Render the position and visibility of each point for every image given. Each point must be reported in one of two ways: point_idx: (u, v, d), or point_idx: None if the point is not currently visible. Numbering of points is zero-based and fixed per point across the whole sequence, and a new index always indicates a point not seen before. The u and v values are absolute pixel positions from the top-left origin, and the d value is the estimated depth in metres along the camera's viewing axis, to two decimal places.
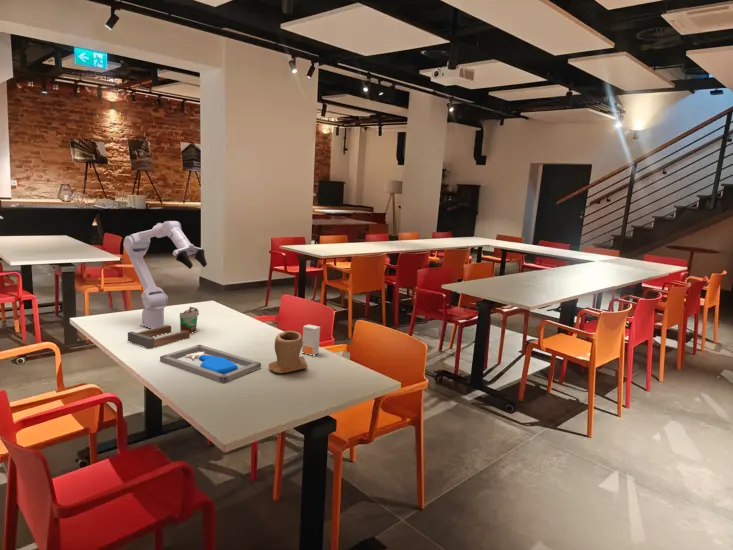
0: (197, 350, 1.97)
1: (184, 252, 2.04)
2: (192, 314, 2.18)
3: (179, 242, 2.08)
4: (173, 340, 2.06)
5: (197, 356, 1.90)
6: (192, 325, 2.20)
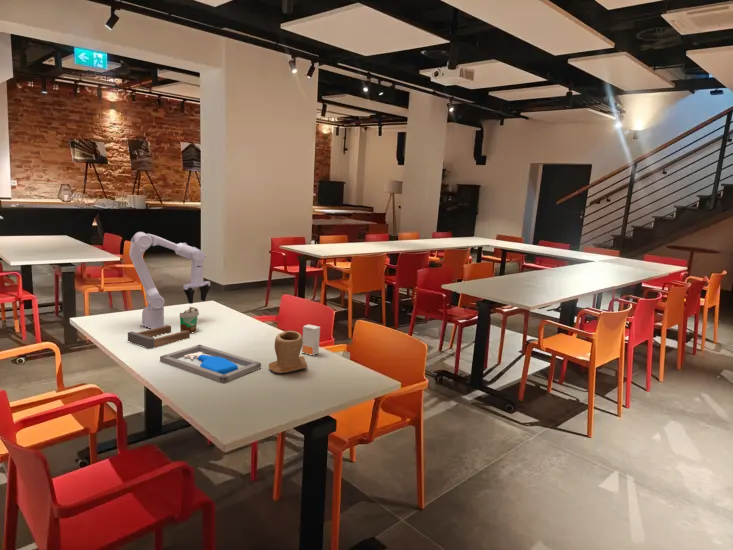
0: (197, 350, 1.97)
1: (192, 291, 2.29)
2: (192, 314, 2.18)
3: (194, 276, 2.30)
4: (173, 340, 2.06)
5: (196, 356, 1.89)
6: (192, 325, 2.20)
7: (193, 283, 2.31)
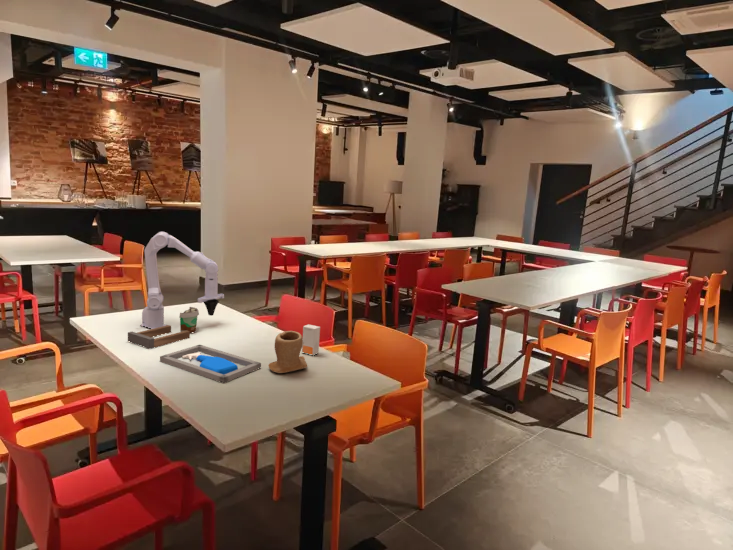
0: (197, 350, 1.97)
1: (212, 303, 2.29)
2: (192, 314, 2.18)
3: (209, 289, 2.27)
4: (173, 340, 2.06)
5: (194, 357, 1.89)
6: (192, 325, 2.20)
7: (207, 296, 2.28)
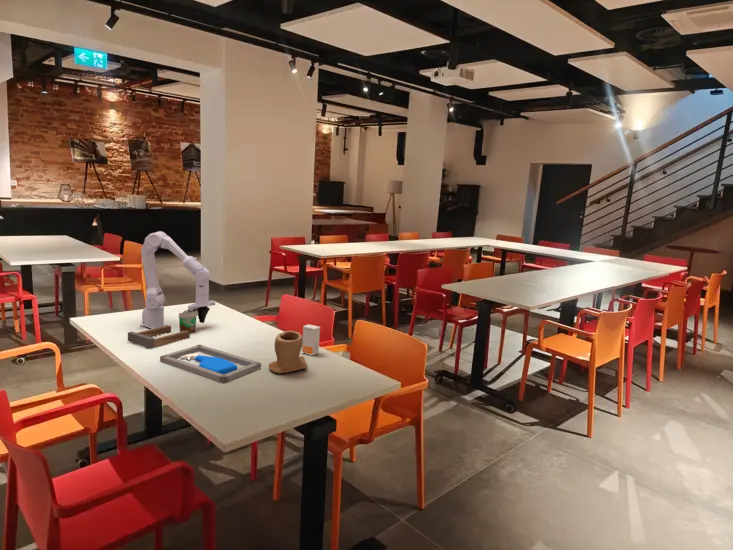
0: (197, 350, 1.97)
1: (204, 311, 2.25)
2: (191, 314, 2.18)
3: (199, 297, 2.23)
4: (173, 340, 2.06)
5: (192, 357, 1.88)
6: (191, 325, 2.20)
7: (198, 303, 2.24)
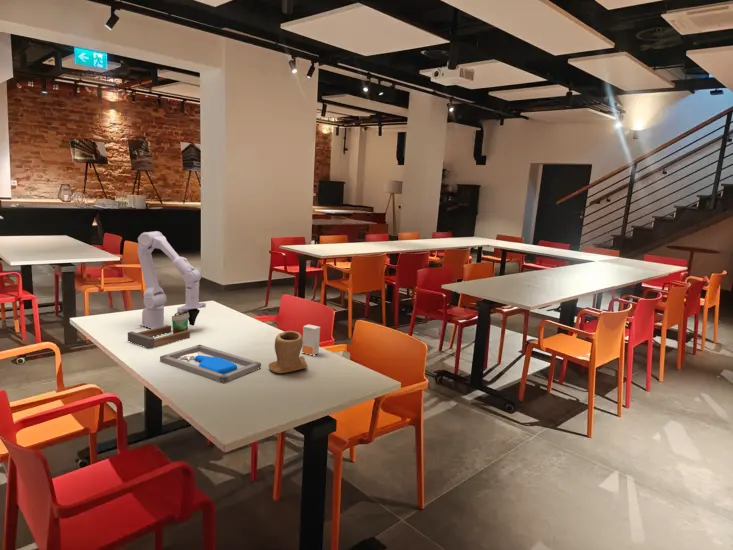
0: (197, 350, 1.97)
1: (194, 313, 2.20)
2: (184, 316, 2.13)
3: (189, 299, 2.18)
4: (173, 340, 2.06)
5: (192, 357, 1.88)
6: (184, 327, 2.15)
7: (188, 305, 2.19)
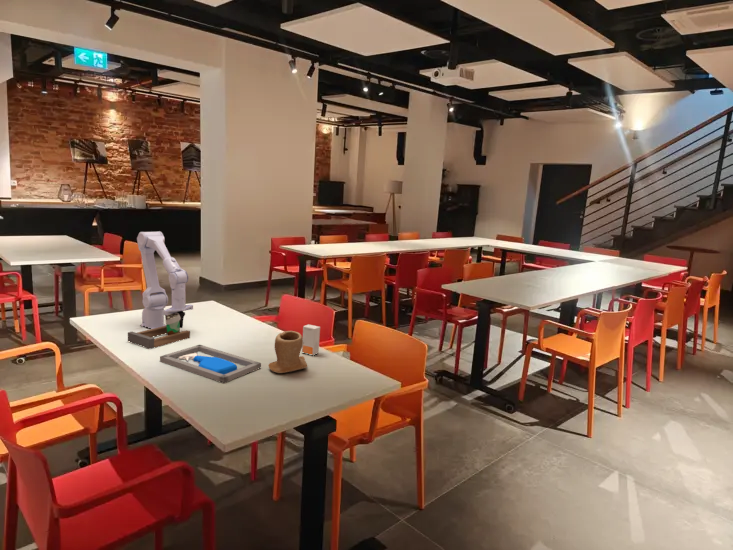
0: (197, 350, 1.97)
1: (182, 315, 2.14)
2: (177, 318, 2.08)
3: (175, 301, 2.12)
4: (173, 340, 2.06)
5: (191, 357, 1.88)
6: (178, 329, 2.11)
7: (174, 308, 2.12)
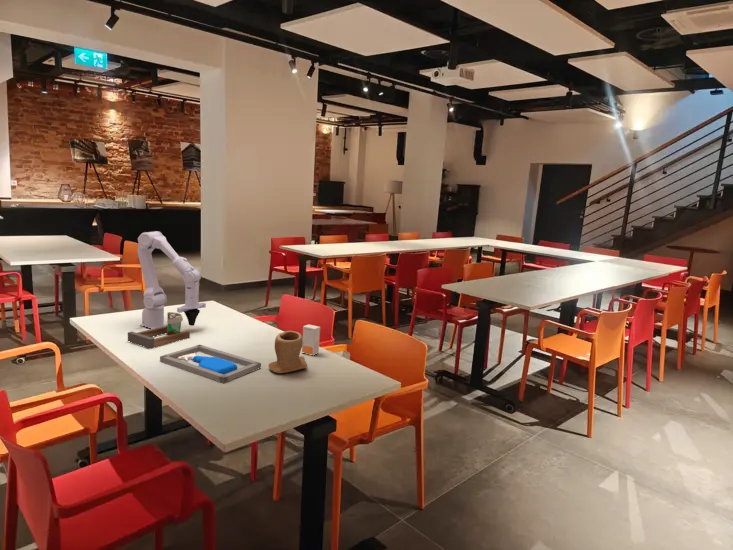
0: (197, 350, 1.97)
1: (193, 313, 2.19)
2: (180, 319, 2.09)
3: (189, 299, 2.18)
4: (173, 340, 2.06)
5: (190, 358, 1.88)
6: (179, 331, 2.11)
7: (187, 306, 2.18)
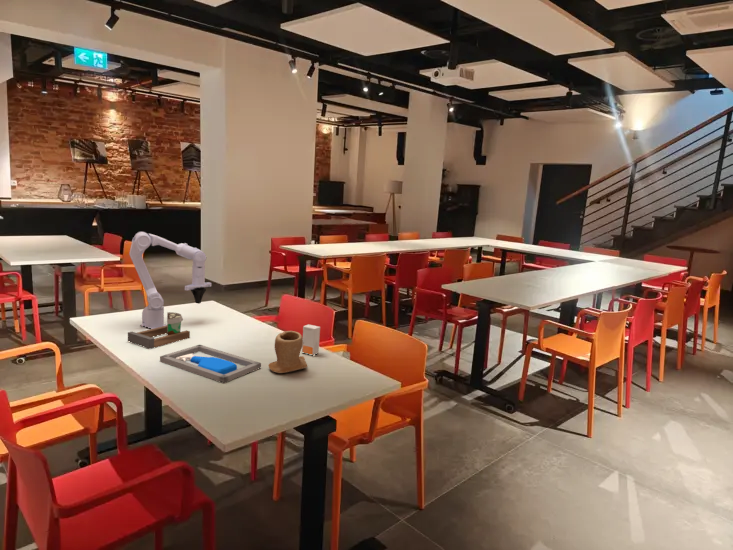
0: (197, 350, 1.97)
1: (199, 291, 2.30)
2: (179, 319, 2.09)
3: (196, 277, 2.28)
4: (173, 340, 2.06)
5: (188, 358, 1.87)
6: (178, 331, 2.11)
7: (194, 284, 2.29)
